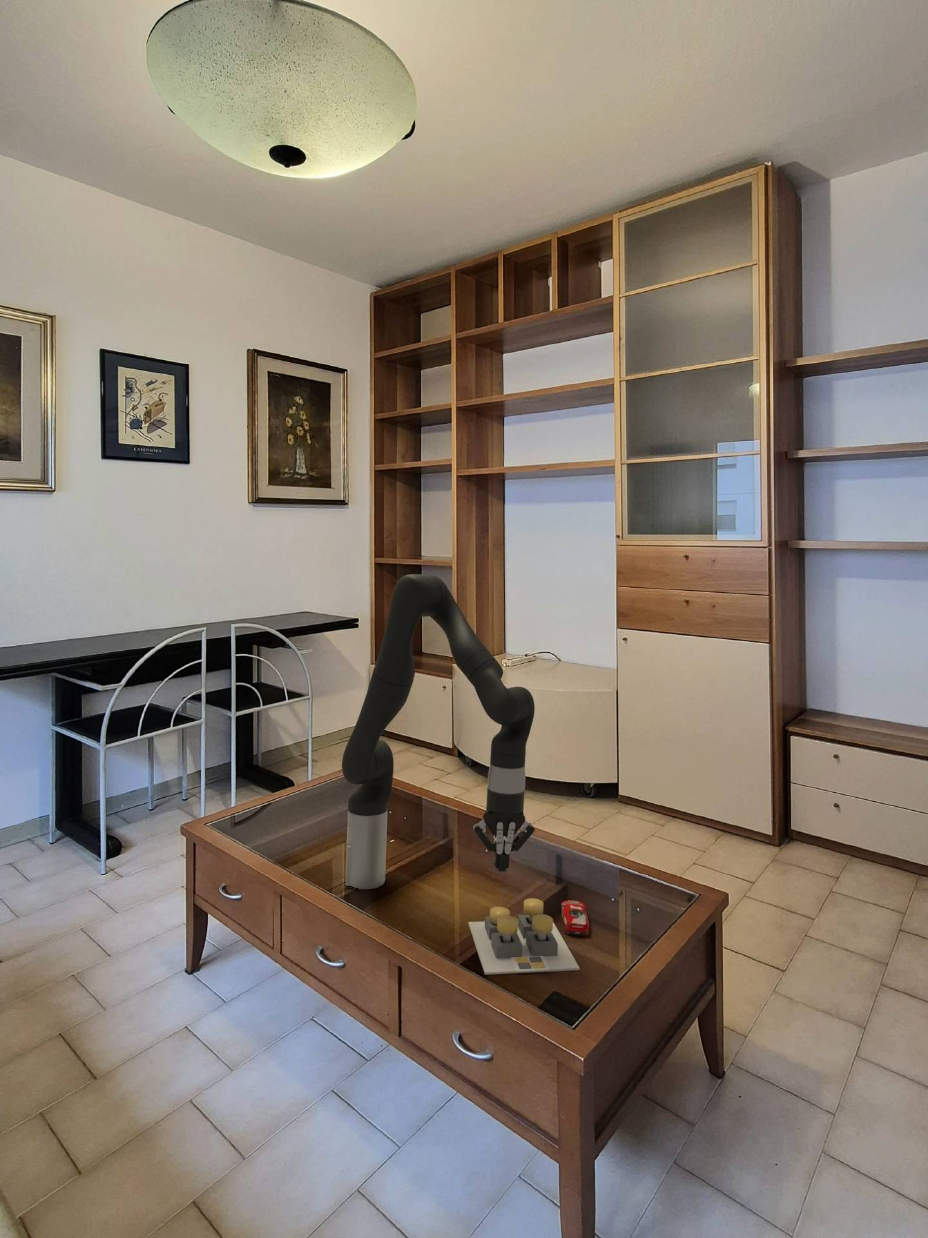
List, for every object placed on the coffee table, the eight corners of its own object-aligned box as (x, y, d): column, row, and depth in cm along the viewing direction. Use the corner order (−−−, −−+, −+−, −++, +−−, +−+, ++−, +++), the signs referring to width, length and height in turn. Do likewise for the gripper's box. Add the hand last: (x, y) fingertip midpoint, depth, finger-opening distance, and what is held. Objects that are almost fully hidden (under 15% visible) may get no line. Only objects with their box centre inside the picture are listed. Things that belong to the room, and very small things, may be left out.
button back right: (525, 928, 142) (526, 907, 142) (520, 919, 146) (521, 898, 146) (544, 927, 143) (545, 907, 143) (539, 918, 147) (540, 898, 147)
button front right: (534, 946, 135) (535, 924, 135) (529, 936, 139) (530, 914, 139) (554, 945, 136) (555, 924, 136) (548, 935, 140) (549, 914, 140)
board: (485, 976, 129) (485, 961, 128) (468, 924, 148) (468, 911, 148) (580, 971, 131) (581, 956, 131) (551, 921, 151) (552, 908, 150)
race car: (559, 908, 157) (560, 891, 157) (584, 910, 157) (585, 892, 157) (563, 938, 144) (563, 919, 144) (589, 940, 144) (590, 921, 144)
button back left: (491, 937, 141) (492, 916, 141) (487, 927, 145) (488, 907, 145) (510, 936, 142) (511, 915, 142) (506, 926, 146) (507, 906, 146)
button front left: (498, 948, 134) (499, 926, 134) (494, 937, 138) (495, 916, 138) (519, 947, 135) (520, 925, 135) (514, 936, 139) (515, 915, 139)
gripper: (477, 792, 137) (472, 878, 138) (542, 792, 139) (537, 877, 140) (470, 780, 145) (466, 863, 146) (533, 781, 147) (528, 862, 148)
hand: (501, 870), depth 143 cm, fingers closed
